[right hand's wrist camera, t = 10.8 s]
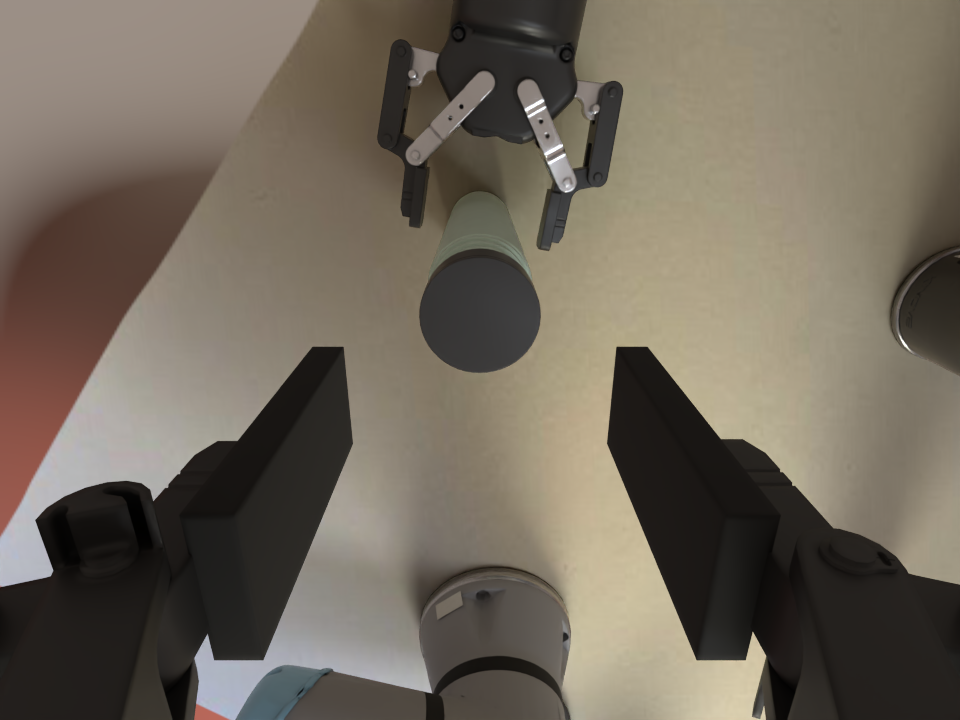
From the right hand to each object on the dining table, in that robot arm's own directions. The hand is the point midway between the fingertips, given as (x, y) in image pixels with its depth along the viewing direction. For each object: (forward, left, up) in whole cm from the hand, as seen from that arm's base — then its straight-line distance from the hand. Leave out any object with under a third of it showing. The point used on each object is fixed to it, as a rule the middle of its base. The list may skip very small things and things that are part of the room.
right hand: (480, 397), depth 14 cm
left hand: (0, 0, -25) cm, 25 cm away
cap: (0, 0, -7) cm, 7 cm away
